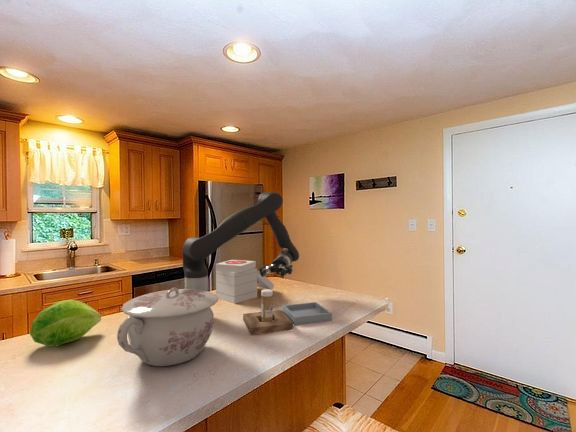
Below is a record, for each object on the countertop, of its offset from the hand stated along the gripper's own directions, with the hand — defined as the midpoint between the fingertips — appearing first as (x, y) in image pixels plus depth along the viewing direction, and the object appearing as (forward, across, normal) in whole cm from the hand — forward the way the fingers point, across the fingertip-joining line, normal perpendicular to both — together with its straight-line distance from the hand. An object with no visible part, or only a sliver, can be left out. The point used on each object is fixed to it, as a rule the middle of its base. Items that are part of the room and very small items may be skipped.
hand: (271, 274), depth 125 cm
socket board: (+11, 0, +17) cm, 20 cm away
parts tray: (-2, +13, +18) cm, 23 cm away
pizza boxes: (-26, -24, +20) cm, 40 cm away
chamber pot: (+41, -21, +13) cm, 48 cm away
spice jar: (+11, 0, +17) cm, 20 cm away
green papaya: (+40, -62, +11) cm, 74 cm away
